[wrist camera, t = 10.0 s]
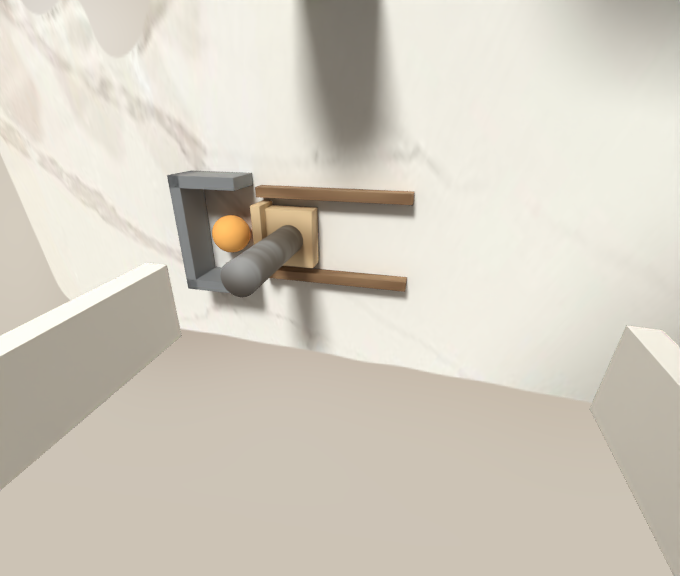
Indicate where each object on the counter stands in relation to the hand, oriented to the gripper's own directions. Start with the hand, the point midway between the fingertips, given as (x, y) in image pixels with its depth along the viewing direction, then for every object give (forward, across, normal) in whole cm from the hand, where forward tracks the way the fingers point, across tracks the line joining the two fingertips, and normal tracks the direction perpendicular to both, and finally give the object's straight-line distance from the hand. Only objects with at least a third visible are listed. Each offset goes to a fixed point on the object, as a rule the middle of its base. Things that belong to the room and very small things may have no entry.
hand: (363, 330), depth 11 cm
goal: (+27, -20, -6) cm, 34 cm away
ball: (+25, -19, -6) cm, 32 cm away
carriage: (+27, -12, -6) cm, 30 cm away
